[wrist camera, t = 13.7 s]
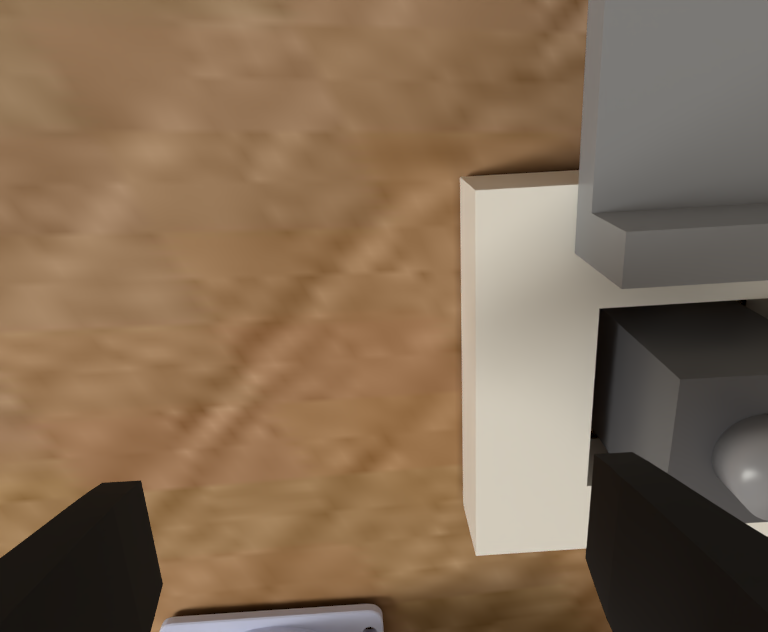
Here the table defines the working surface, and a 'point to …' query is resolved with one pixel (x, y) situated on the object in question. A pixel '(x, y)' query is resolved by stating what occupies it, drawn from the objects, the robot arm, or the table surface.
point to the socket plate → (538, 359)
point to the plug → (689, 397)
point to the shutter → (675, 142)
